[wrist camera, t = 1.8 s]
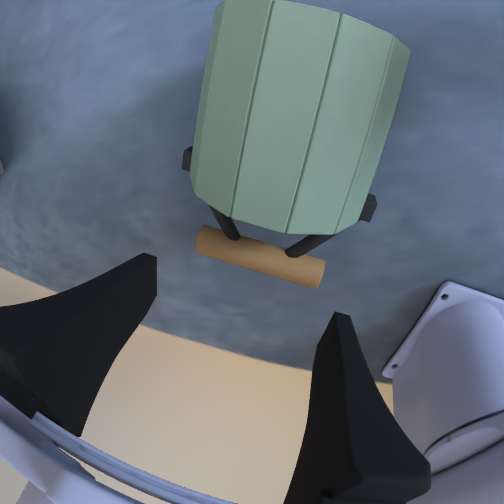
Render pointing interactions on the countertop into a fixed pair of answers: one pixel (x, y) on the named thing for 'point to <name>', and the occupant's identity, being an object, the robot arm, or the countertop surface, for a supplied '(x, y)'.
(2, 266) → the countertop surface
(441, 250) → the countertop surface
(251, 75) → the bucket
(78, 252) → the countertop surface
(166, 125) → the countertop surface
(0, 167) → the grey box
